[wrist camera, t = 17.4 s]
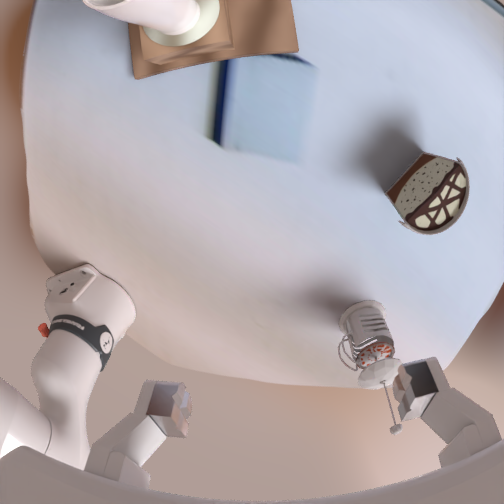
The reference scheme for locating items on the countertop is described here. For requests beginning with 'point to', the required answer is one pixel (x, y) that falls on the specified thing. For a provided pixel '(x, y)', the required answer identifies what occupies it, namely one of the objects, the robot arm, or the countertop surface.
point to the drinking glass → (152, 13)
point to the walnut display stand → (216, 36)
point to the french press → (371, 347)
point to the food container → (431, 194)
